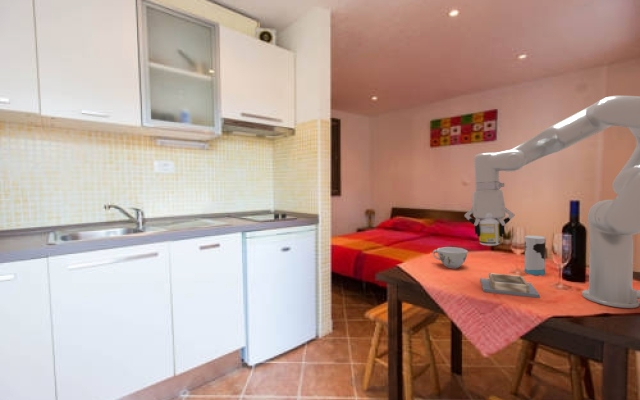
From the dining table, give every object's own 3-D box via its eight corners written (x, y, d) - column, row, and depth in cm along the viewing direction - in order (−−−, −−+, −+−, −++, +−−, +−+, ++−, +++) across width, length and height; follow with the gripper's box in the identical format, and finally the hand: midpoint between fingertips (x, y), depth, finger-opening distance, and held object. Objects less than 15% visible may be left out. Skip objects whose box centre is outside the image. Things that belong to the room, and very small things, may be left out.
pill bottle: (494, 241, 107) (493, 211, 106) (503, 245, 100) (502, 212, 100) (476, 242, 108) (475, 212, 107) (484, 246, 101) (483, 213, 101)
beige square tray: (522, 282, 104) (522, 275, 104) (529, 293, 95) (529, 285, 95) (488, 279, 109) (488, 273, 109) (492, 289, 99) (492, 282, 99)
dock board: (530, 285, 104) (530, 282, 104) (539, 297, 93) (539, 294, 93) (480, 280, 111) (480, 278, 111) (483, 291, 100) (483, 289, 100)
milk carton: (549, 275, 114) (549, 238, 113) (532, 275, 114) (533, 238, 113) (536, 270, 121) (536, 235, 120) (520, 270, 121) (520, 235, 120)
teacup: (471, 265, 130) (471, 248, 129) (462, 272, 121) (462, 254, 120) (438, 260, 140) (438, 244, 140) (427, 266, 131) (427, 249, 131)
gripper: (513, 185, 103) (515, 234, 104) (460, 188, 110) (462, 234, 111) (518, 185, 96) (520, 238, 97) (461, 188, 103) (463, 237, 104)
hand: (489, 235), depth 104 cm, fingers closed on pill bottle, 6 cm apart
